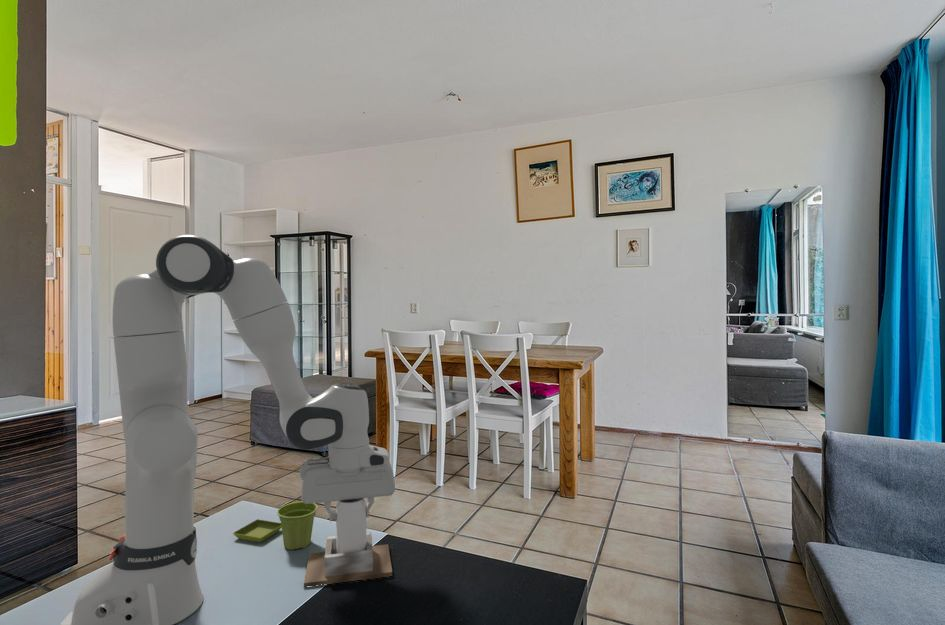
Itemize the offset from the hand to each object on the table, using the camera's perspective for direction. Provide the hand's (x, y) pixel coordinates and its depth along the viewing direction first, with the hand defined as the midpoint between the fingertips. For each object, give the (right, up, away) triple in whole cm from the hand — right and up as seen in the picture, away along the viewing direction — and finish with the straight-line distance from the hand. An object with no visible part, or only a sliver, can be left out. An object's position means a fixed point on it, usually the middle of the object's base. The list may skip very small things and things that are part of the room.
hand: (349, 518), depth 109 cm
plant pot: (-15, -11, +10) cm, 22 cm away
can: (0, -8, 0) cm, 8 cm away
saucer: (-27, -11, +16) cm, 33 cm away
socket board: (0, -11, 0) cm, 11 cm away
